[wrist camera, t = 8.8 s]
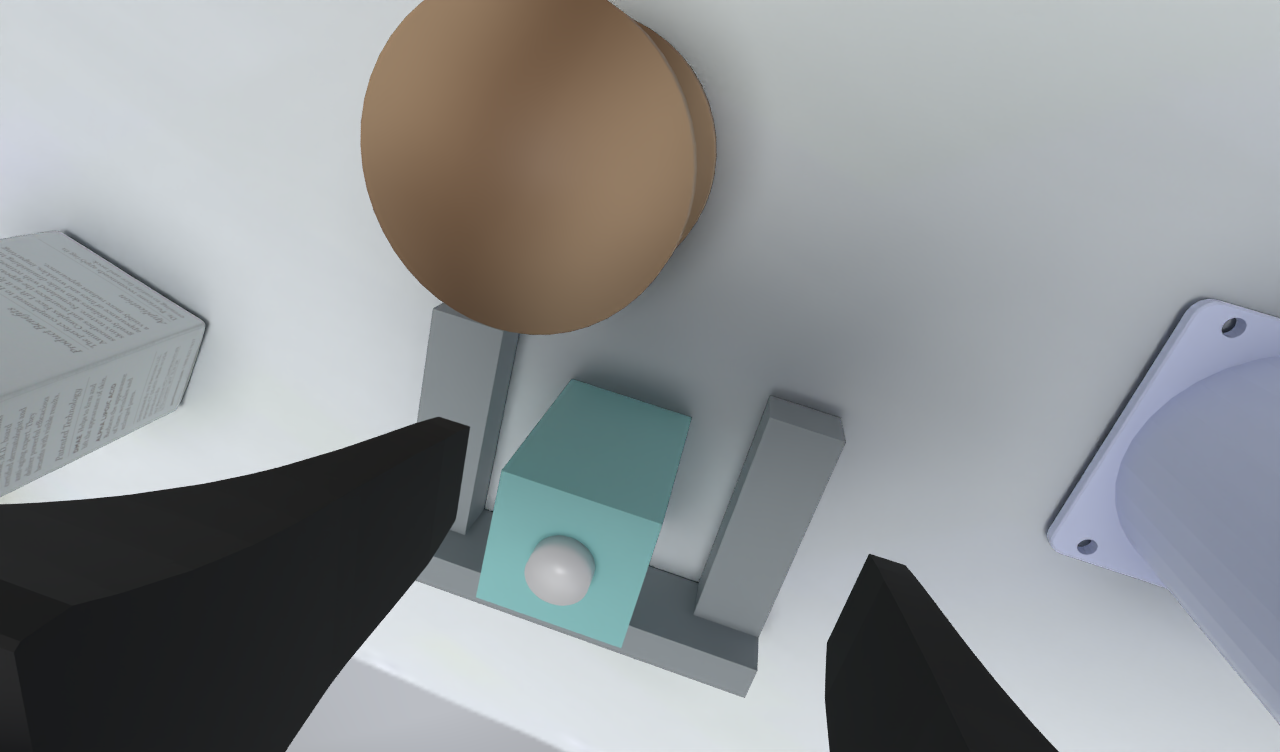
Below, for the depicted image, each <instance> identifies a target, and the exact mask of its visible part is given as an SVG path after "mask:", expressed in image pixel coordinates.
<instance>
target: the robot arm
mask: <svg viewBox="0 0 1280 752" xmlns="http://www.w3.org/2000/svg"><path fill="white" fill-rule="evenodd" d="M1232 318H1236V320H1237V322H1236V325H1235V327H1234V328H1233V329H1232V330H1231V331H1229V332H1226V333H1222V331H1221V329H1222V326H1223V324H1224V323H1225V322H1226V321H1227V320H1229V319H1232ZM469 432H470V426H467V425H464V424H461V423H458V422H455V421H451V420H448V419H445V418H442V417H435V418H431V419H428V420H424V421H421V422H418V423H415V424H412V425H409V426H406V427H404V428H401V429H398V430H395V431H392V432H389V433H386V434H384V435H381V436H378V437H375V438H372V439H369V440H366V441H363V442H360V443H357V444H354V445H351V446H348V447H346V448H343V449H339V450H336V451H333V452H329V453H326V454H323V455H319V456H316V457H312V458H309V459H306V460H302V461H299V462H296V463H292V464H289V465H285V466H282V467H278V468H274V469H270V470H266V471H262V472H258V473H254V474H249V475H245V476H240V477H235V478H230V479H225V480H221V481H216V482H211V483H205V484H200V485H193V486H186V487H179V488H173V489H166V490H159V491H152V492H145V493H139V494H132V495H123V496H114V497H104V498H94V499H83V500H70V501H56V502H43V503H24V504H0V752H285V751H286V750H287V748H288V747H289V745H290V744H291V742H292V741H293V739H294V738H295V736H296V735H297V733H298V731H299V730H300V729H301V727H302V726H303V724H304V723H305V721H306V720H307V718H308V717H309V715H310V714H311V712H312V711H313V709H314V708H315V706H316V705H317V703H318V702H319V700H320V699H321V698H322V696H323V695H324V693H325V692H326V690H327V689H328V687H329V686H330V684H331V683H332V682H333V681H334V679H335V678H336V677H337V675H338V674H339V673H340V671H341V670H342V669H343V667H344V666H345V665H346V663H347V662H348V661H349V660H350V659H351V657H352V656H353V655H354V654H355V653H356V651H357V650H358V649H359V648H360V647H361V645H362V644H363V643H364V642H365V641H366V639H367V638H368V637H369V636H370V635H371V633H372V632H373V631H374V630H375V628H376V627H377V626H378V625H379V624H380V622H381V621H382V620H383V619H384V618H385V616H386V615H387V614H388V613H389V612H390V610H391V609H392V608H393V607H394V606H395V604H396V603H397V602H398V601H399V600H400V598H401V597H402V596H403V595H404V594H405V592H406V591H407V590H408V589H409V587H410V586H411V585H412V584H413V583H414V581H415V580H416V579H417V578H418V576H419V575H420V574H421V573H422V571H423V570H424V569H425V568H426V566H427V565H428V564H429V562H430V561H431V559H432V558H433V556H434V554H435V553H436V551H437V550H438V548H439V547H440V545H441V543H442V542H443V540H444V539H445V537H446V535H447V534H448V532H449V530H450V529H451V527H452V525H453V524H454V522H455V520H456V516H457V510H458V503H459V497H460V490H461V484H462V477H463V471H464V464H465V458H466V451H467V445H468V438H469ZM1047 539H1048V541H1049V543H1050V545H1051V546H1052V547H1053V549H1054V550H1055V551H1057V552H1058V553H1060V554H1063V555H1066V556H1069V557H1072V558H1075V559H1078V560H1081V561H1084V562H1087V563H1090V564H1093V565H1097V566H1100V567H1103V568H1106V569H1109V570H1112V571H1115V572H1118V573H1121V574H1124V575H1127V576H1130V577H1133V578H1136V579H1139V580H1142V581H1145V582H1148V583H1151V584H1154V585H1158V586H1161V587H1164V588H1167V589H1168V590H1169V591H1170V592H1171V593H1172V595H1173V596H1174V597H1175V598H1176V599H1177V601H1178V602H1179V603H1180V604H1181V605H1182V607H1183V608H1184V609H1185V610H1186V612H1187V613H1188V614H1189V615H1190V616H1191V618H1192V619H1193V620H1194V621H1195V623H1196V624H1197V625H1198V626H1199V627H1200V629H1201V630H1202V631H1203V632H1204V633H1205V635H1206V636H1207V637H1208V638H1209V640H1210V641H1211V642H1212V643H1213V644H1214V646H1215V647H1216V648H1217V649H1218V651H1219V652H1220V653H1221V654H1222V655H1223V657H1224V658H1225V659H1226V660H1227V661H1228V663H1229V664H1230V665H1231V666H1232V668H1233V669H1234V670H1235V671H1236V672H1237V674H1238V675H1239V676H1240V677H1241V679H1242V680H1243V681H1244V682H1245V683H1246V685H1247V686H1248V687H1249V688H1250V689H1251V691H1252V692H1253V693H1254V694H1255V696H1256V697H1257V698H1258V699H1259V700H1260V702H1261V703H1262V704H1263V705H1264V707H1265V708H1266V709H1267V710H1268V711H1269V713H1270V714H1271V715H1272V716H1273V717H1274V719H1275V720H1276V721H1277V722H1278V724H1279V725H1280V318H1278V317H1275V316H1271V315H1268V314H1264V313H1261V312H1258V311H1254V310H1251V309H1247V308H1244V307H1241V306H1237V305H1234V304H1230V303H1227V302H1224V301H1220V300H1216V299H1205V300H1201V301H1198V302H1197V303H1195V304H1193V305H1191V307H1190V308H1189V309H1188V310H1187V311H1186V312H1185V314H1184V315H1183V317H1182V318H1181V320H1180V322H1179V323H1178V325H1177V326H1176V328H1175V330H1174V331H1173V333H1172V334H1171V336H1170V337H1169V339H1168V341H1167V342H1166V344H1165V345H1164V347H1163V349H1162V350H1161V352H1160V353H1159V355H1158V357H1157V358H1156V360H1155V361H1154V363H1153V364H1152V366H1151V368H1150V369H1149V371H1148V372H1147V374H1146V376H1145V377H1144V379H1143V380H1142V382H1141V383H1140V385H1139V387H1138V388H1137V390H1136V391H1135V393H1134V395H1133V396H1132V398H1131V399H1130V401H1129V403H1128V404H1127V406H1126V407H1125V409H1124V410H1123V412H1122V414H1121V415H1120V417H1119V418H1118V420H1117V422H1116V423H1115V425H1114V426H1113V428H1112V430H1111V431H1110V433H1109V434H1108V436H1107V437H1106V439H1105V441H1104V442H1103V444H1102V445H1101V447H1100V449H1099V450H1098V452H1097V453H1096V455H1095V456H1094V458H1093V460H1092V461H1091V463H1090V464H1089V466H1088V468H1087V469H1086V471H1085V472H1084V474H1083V476H1082V477H1081V479H1080V480H1079V482H1078V483H1077V485H1076V487H1075V488H1074V490H1073V491H1072V493H1071V495H1070V496H1069V498H1068V499H1067V501H1066V502H1065V504H1064V506H1063V507H1062V509H1061V510H1060V512H1059V514H1058V515H1057V517H1056V518H1055V520H1054V522H1053V523H1052V525H1051V526H1050V528H1049V530H1048V533H1047ZM1086 539H1089V540H1091V542H1090V543H1089V544H1088V545H1086V546H1083V547H1080V546H1078V544H1079V543H1080V542H1081V541H1083V540H1086ZM825 705H826V717H827V728H828V738H829V748H830V752H1059V751H1058V750H1057V749H1056V748H1055V747H1054V746H1053V745H1052V744H1051V743H1050V742H1049V741H1048V740H1047V739H1046V738H1045V737H1044V736H1043V734H1042V733H1041V732H1040V731H1039V730H1038V729H1037V728H1036V727H1035V726H1034V725H1033V723H1032V722H1031V721H1030V720H1029V719H1028V718H1027V717H1026V715H1025V714H1024V713H1023V712H1022V711H1021V710H1020V709H1019V707H1018V706H1017V705H1016V704H1015V703H1014V702H1013V700H1012V699H1011V698H1010V697H1009V696H1008V695H1007V693H1006V692H1005V691H1004V690H1003V689H1002V688H1001V686H1000V685H999V684H998V683H997V682H996V680H995V679H994V678H993V677H992V675H991V674H990V673H989V672H988V671H987V669H986V668H985V667H984V666H983V664H982V663H981V662H980V661H979V659H978V658H977V657H976V656H975V654H974V653H973V652H972V651H971V649H970V648H969V647H968V645H967V644H966V643H965V642H964V640H963V639H962V638H961V636H960V635H959V634H958V632H957V631H956V630H955V628H954V627H953V626H952V625H951V623H950V622H949V621H948V619H947V618H946V617H945V615H944V614H943V613H942V611H941V610H940V609H939V607H938V606H937V605H936V603H935V602H934V601H933V599H932V598H931V597H930V595H929V594H928V593H927V592H926V590H925V589H924V588H923V586H922V585H921V584H920V582H919V581H918V580H917V579H916V577H915V576H914V575H913V574H912V573H911V571H910V570H909V569H908V568H907V567H906V566H905V565H903V564H900V563H896V562H893V561H890V560H887V559H884V558H881V557H878V556H875V555H871V554H869V555H868V557H867V559H866V562H865V564H864V566H863V568H862V570H861V572H860V574H859V576H858V578H857V581H856V583H855V585H854V587H853V589H852V591H851V593H850V595H849V597H848V600H847V602H846V604H845V606H844V608H843V610H842V612H841V614H840V616H839V619H838V621H837V623H836V625H835V627H834V629H833V631H832V633H831V636H830V638H829V640H828V642H827V653H826V675H825Z"/></svg>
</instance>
